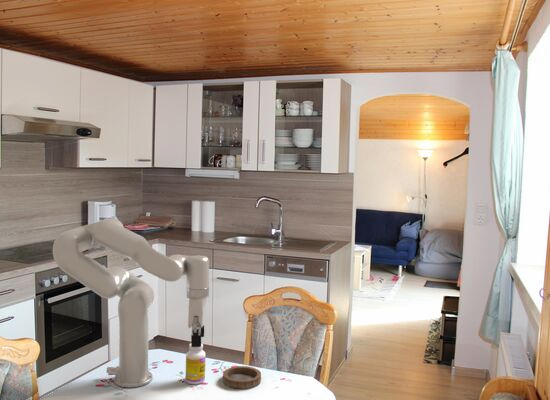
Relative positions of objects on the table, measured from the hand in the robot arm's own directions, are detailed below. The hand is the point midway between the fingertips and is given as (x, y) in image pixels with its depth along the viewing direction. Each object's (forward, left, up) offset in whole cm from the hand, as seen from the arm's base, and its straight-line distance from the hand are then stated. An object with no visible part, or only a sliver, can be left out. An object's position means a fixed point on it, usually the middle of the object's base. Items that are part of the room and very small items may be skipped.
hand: (197, 341), depth 170 cm
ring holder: (+15, +1, -14) cm, 21 cm away
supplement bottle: (-1, 0, -14) cm, 14 cm away
